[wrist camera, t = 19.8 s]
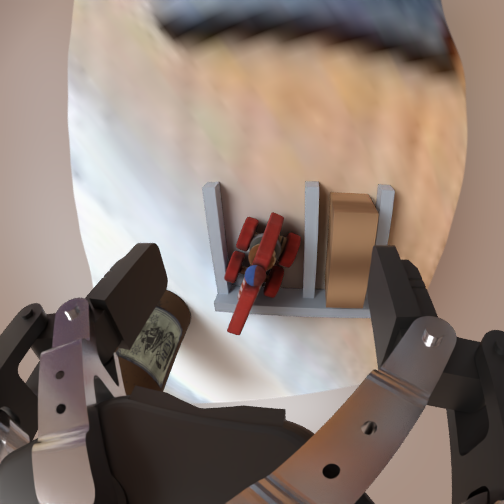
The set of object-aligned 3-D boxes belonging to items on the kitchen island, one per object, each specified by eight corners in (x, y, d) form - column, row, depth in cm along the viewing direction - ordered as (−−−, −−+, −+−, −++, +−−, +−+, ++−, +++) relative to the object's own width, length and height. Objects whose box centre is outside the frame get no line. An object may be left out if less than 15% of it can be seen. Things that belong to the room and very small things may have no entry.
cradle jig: (207, 182, 35) (196, 193, 31) (390, 185, 31) (399, 197, 27) (222, 293, 43) (215, 311, 40) (372, 298, 39) (376, 318, 36)
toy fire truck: (308, 218, 35) (307, 266, 26) (271, 293, 42) (260, 348, 33) (253, 197, 35) (233, 238, 26) (225, 275, 41) (203, 327, 33)
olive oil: (172, 340, 51) (116, 459, 30) (127, 302, 48) (51, 417, 27) (207, 316, 46) (149, 460, 25) (156, 272, 43) (66, 408, 22)
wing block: (330, 191, 33) (334, 212, 28) (367, 193, 32) (378, 214, 27) (324, 278, 39) (325, 307, 34) (357, 279, 38) (362, 308, 33)
